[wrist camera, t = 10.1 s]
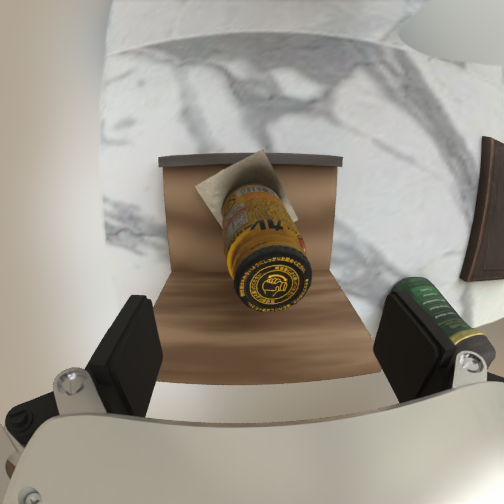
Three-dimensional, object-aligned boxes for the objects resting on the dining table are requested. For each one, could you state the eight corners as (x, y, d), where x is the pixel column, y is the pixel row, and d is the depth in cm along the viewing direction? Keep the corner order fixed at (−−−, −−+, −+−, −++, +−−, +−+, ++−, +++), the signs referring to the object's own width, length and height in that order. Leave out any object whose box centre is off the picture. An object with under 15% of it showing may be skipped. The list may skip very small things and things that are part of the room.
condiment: (237, 250, 30) (252, 335, 20) (194, 185, 26) (184, 253, 16) (297, 218, 29) (342, 292, 19) (262, 148, 25) (299, 191, 15)
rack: (168, 156, 29) (82, 170, 12) (330, 155, 29) (425, 170, 12) (177, 272, 34) (129, 378, 17) (322, 270, 34) (380, 371, 17)
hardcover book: (525, 158, 29) (533, 160, 27) (504, 273, 37) (511, 278, 35) (479, 135, 28) (489, 136, 26) (457, 276, 36) (465, 282, 34)
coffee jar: (391, 274, 35) (470, 360, 18) (432, 274, 35) (511, 345, 18) (374, 332, 38) (428, 424, 21) (414, 327, 39) (473, 406, 21)
